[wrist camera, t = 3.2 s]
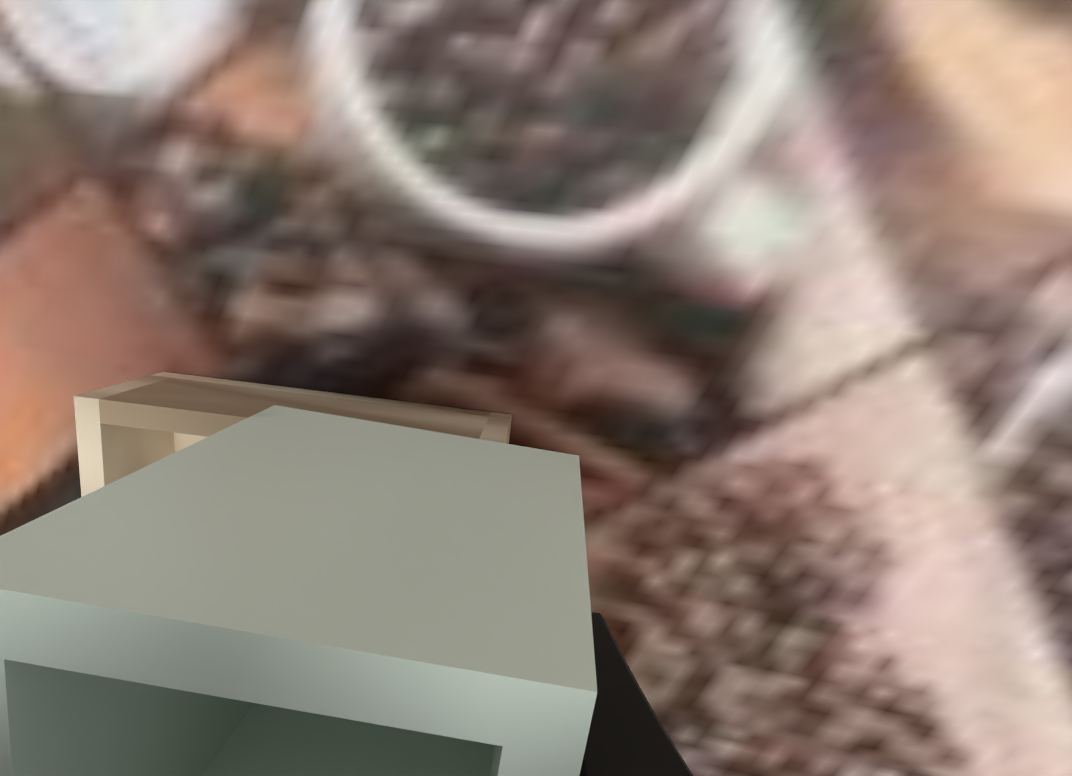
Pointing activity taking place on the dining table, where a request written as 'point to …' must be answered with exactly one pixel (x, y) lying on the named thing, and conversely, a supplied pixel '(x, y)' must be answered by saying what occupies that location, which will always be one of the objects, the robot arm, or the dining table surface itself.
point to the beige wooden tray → (227, 418)
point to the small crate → (305, 611)
